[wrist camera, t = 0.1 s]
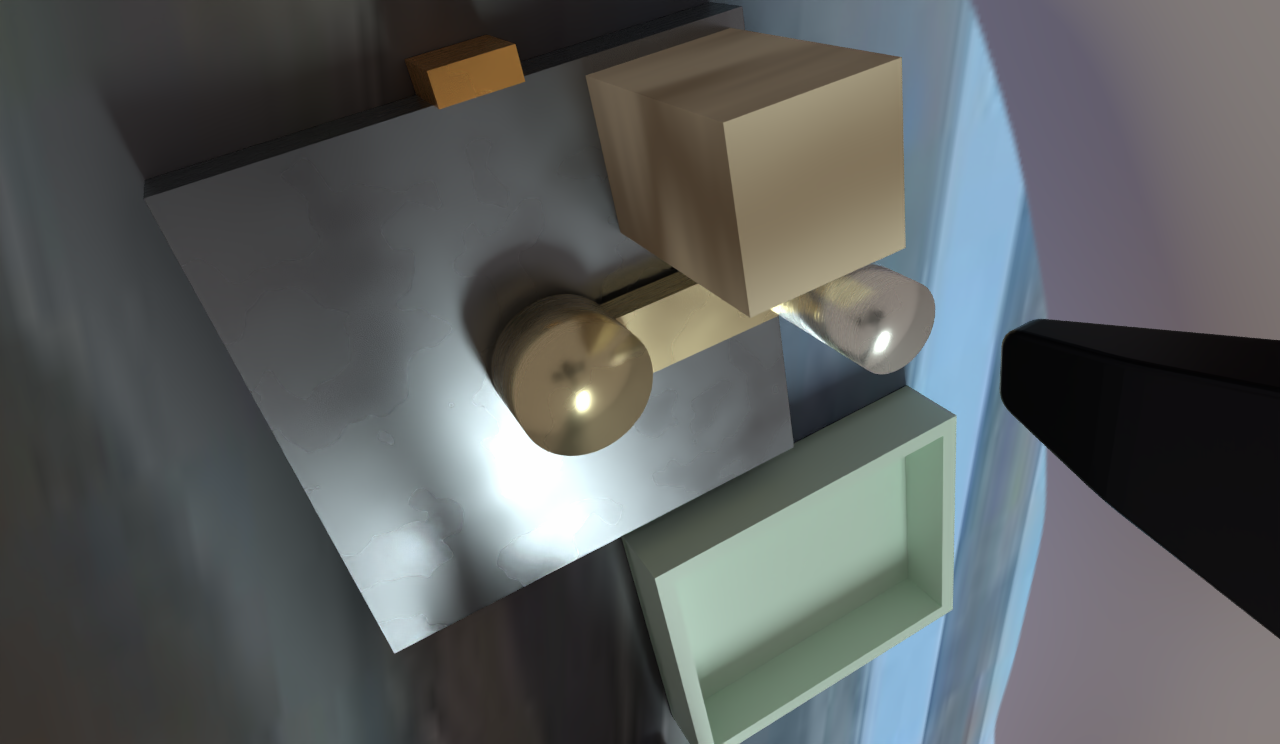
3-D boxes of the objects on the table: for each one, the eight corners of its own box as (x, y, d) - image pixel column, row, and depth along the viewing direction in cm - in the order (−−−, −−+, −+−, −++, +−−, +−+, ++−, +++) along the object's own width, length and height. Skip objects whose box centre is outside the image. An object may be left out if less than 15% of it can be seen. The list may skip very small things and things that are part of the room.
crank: (513, 440, 22) (588, 548, 18) (473, 326, 20) (548, 421, 17) (814, 302, 25) (935, 370, 21) (804, 191, 23) (935, 244, 19)
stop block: (750, 181, 23) (905, 247, 18) (620, 232, 21) (750, 318, 17) (730, 27, 20) (901, 56, 16) (585, 75, 19) (722, 122, 15)
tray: (910, 573, 37) (952, 609, 35) (672, 716, 34) (704, 765, 32) (906, 385, 32) (956, 415, 30) (620, 532, 28) (654, 578, 26)
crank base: (768, 426, 29) (802, 454, 28) (383, 619, 25) (398, 665, 24) (705, -32, 21) (749, -28, 20) (124, 143, 17) (120, 164, 15)
